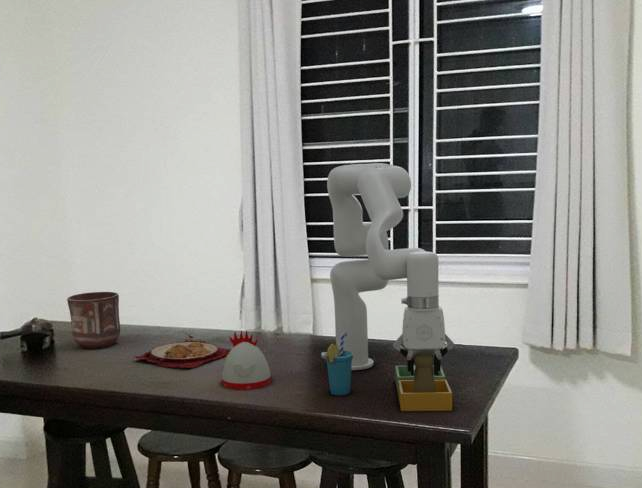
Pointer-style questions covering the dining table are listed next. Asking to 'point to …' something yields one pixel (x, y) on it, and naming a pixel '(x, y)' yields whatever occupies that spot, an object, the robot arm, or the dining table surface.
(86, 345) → the pottery
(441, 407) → the ochre bin
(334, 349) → the cup
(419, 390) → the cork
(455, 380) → the dining table surface
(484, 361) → the dining table surface
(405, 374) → the green bin
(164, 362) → the plate with food
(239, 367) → the kitchen timer
